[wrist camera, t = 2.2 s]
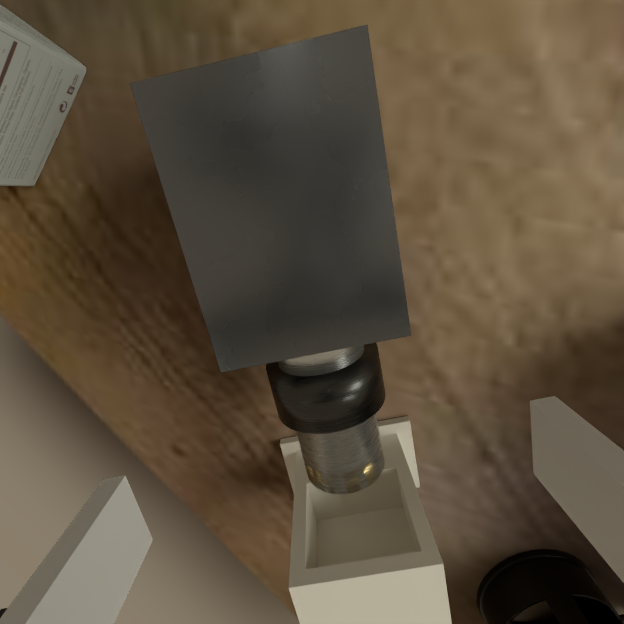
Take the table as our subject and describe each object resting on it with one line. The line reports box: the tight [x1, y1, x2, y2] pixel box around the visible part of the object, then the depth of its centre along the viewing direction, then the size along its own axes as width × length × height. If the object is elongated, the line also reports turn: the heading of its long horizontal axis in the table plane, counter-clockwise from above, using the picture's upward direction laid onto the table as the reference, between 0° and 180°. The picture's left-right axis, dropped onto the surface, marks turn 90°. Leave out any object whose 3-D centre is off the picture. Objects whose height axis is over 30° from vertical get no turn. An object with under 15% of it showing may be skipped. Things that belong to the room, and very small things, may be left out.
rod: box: [266, 342, 385, 494], centre depth 17 cm, size 16×5×5 cm, turn 12°
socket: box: [280, 416, 452, 624], centre depth 22 cm, size 6×9×10 cm, turn 102°
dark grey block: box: [130, 25, 411, 372], centre depth 17 cm, size 11×9×10 cm
